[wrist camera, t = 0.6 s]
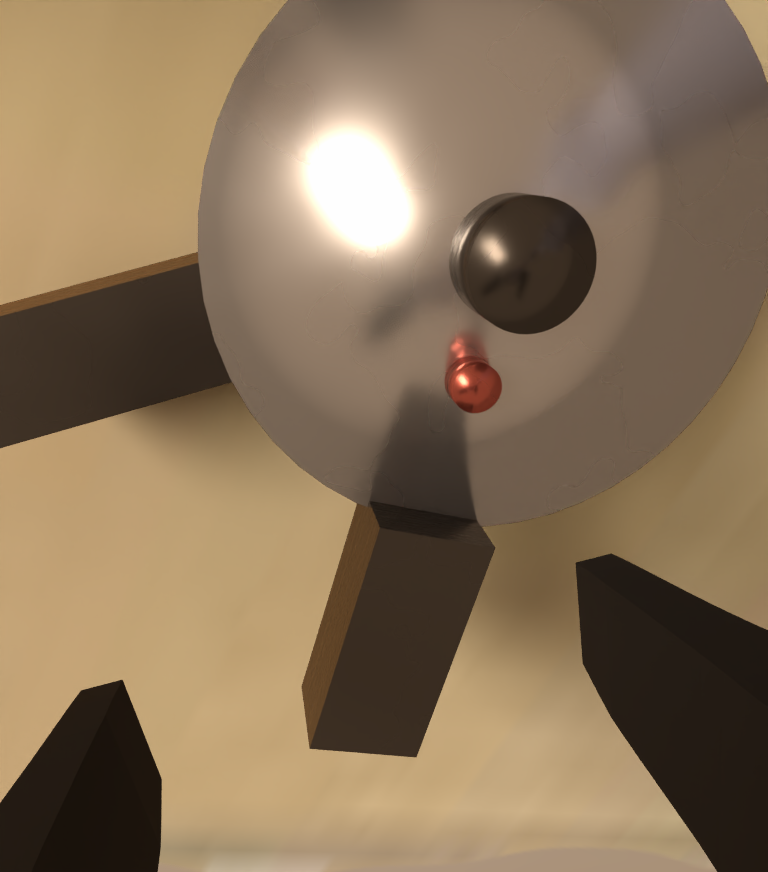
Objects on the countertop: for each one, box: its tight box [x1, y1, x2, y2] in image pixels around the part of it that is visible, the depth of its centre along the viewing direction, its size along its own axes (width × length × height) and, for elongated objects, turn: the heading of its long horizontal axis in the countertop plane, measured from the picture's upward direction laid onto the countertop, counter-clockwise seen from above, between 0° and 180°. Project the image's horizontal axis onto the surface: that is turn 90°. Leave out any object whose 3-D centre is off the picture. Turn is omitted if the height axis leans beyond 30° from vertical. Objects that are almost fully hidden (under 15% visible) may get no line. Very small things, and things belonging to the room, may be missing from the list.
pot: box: [0, 83, 768, 448], centre depth 17 cm, size 19×11×4 cm, turn 104°
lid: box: [198, 0, 768, 757], centre depth 15 cm, size 17×12×2 cm
